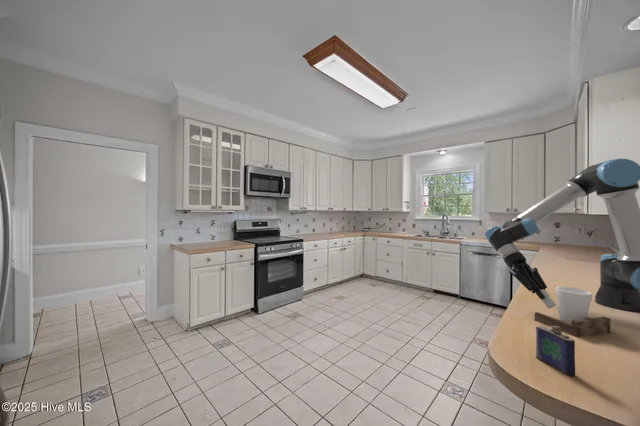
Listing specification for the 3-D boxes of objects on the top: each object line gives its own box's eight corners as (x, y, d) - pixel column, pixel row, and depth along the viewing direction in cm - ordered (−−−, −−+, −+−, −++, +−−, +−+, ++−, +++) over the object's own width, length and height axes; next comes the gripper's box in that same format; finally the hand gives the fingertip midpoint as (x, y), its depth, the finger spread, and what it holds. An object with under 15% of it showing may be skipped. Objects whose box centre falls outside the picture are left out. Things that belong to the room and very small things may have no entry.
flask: (533, 356, 72) (533, 319, 72) (542, 356, 72) (542, 318, 72) (569, 377, 63) (570, 334, 63) (579, 376, 63) (580, 333, 63)
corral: (565, 317, 100) (565, 304, 100) (610, 333, 87) (610, 318, 87) (534, 320, 97) (534, 307, 97) (576, 337, 84) (576, 321, 84)
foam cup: (599, 331, 88) (600, 294, 88) (573, 331, 88) (574, 294, 88) (571, 320, 97) (572, 286, 97) (548, 320, 97) (548, 286, 97)
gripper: (517, 260, 118) (557, 309, 102) (494, 261, 116) (531, 311, 99) (529, 251, 113) (573, 301, 97) (505, 251, 110) (546, 303, 94)
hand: (552, 306), depth 98 cm, fingers closed
